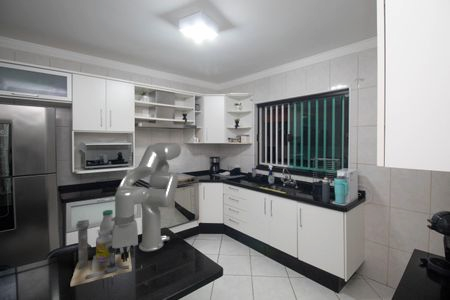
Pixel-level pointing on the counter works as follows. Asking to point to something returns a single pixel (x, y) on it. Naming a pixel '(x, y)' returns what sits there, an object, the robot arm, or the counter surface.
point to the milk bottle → (107, 221)
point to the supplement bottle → (103, 245)
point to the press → (93, 261)
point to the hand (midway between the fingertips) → (124, 260)
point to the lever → (112, 260)
